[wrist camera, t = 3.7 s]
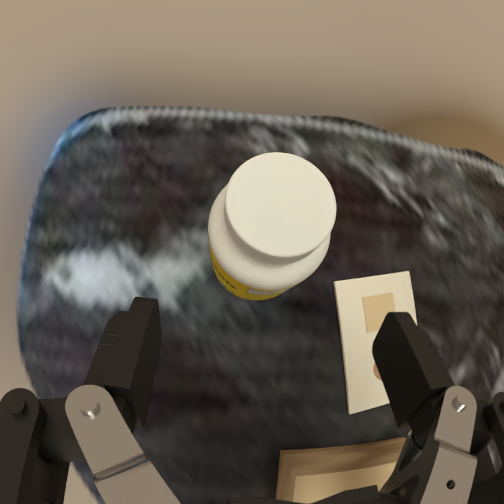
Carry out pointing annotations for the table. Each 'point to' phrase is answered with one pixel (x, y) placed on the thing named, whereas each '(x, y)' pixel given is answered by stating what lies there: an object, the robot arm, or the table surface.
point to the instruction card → (368, 331)
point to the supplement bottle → (270, 225)
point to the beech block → (335, 469)
